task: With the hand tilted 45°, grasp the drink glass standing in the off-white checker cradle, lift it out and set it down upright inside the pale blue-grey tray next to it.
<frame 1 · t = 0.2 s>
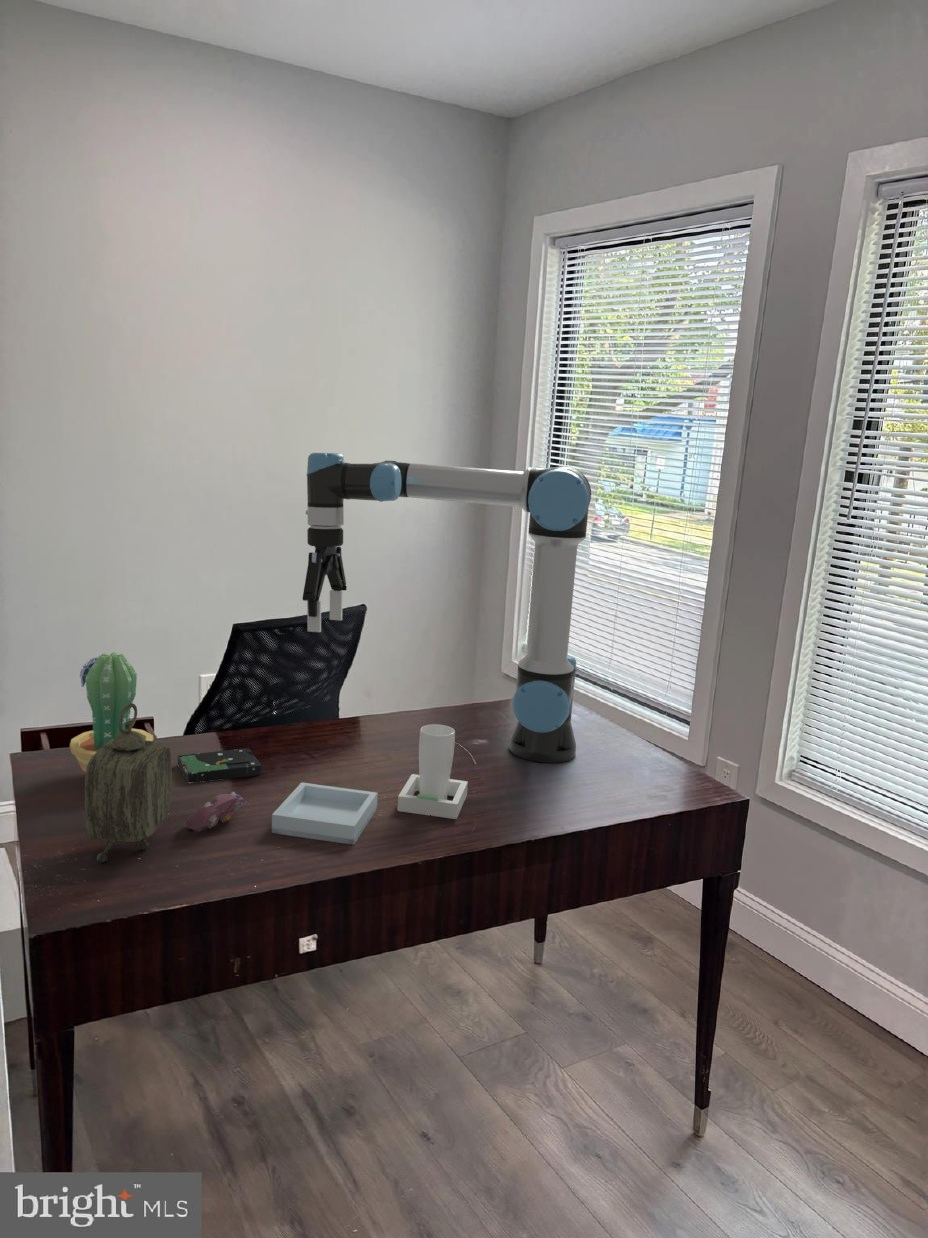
hand: (325, 625, 199), 28 cm above the table, tool pointing down, fingers open, 13 cm apart
checker cradle: (432, 803, 179), on the table
potted cactus: (113, 780, 180), on the table
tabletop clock: (131, 850, 153), on the table
drinking glass: (432, 804, 179), resting in checker cradle
pink toy figurine: (216, 825, 165), on the table
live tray: (326, 821, 168), on the table
disk drive: (219, 773, 188), on the table
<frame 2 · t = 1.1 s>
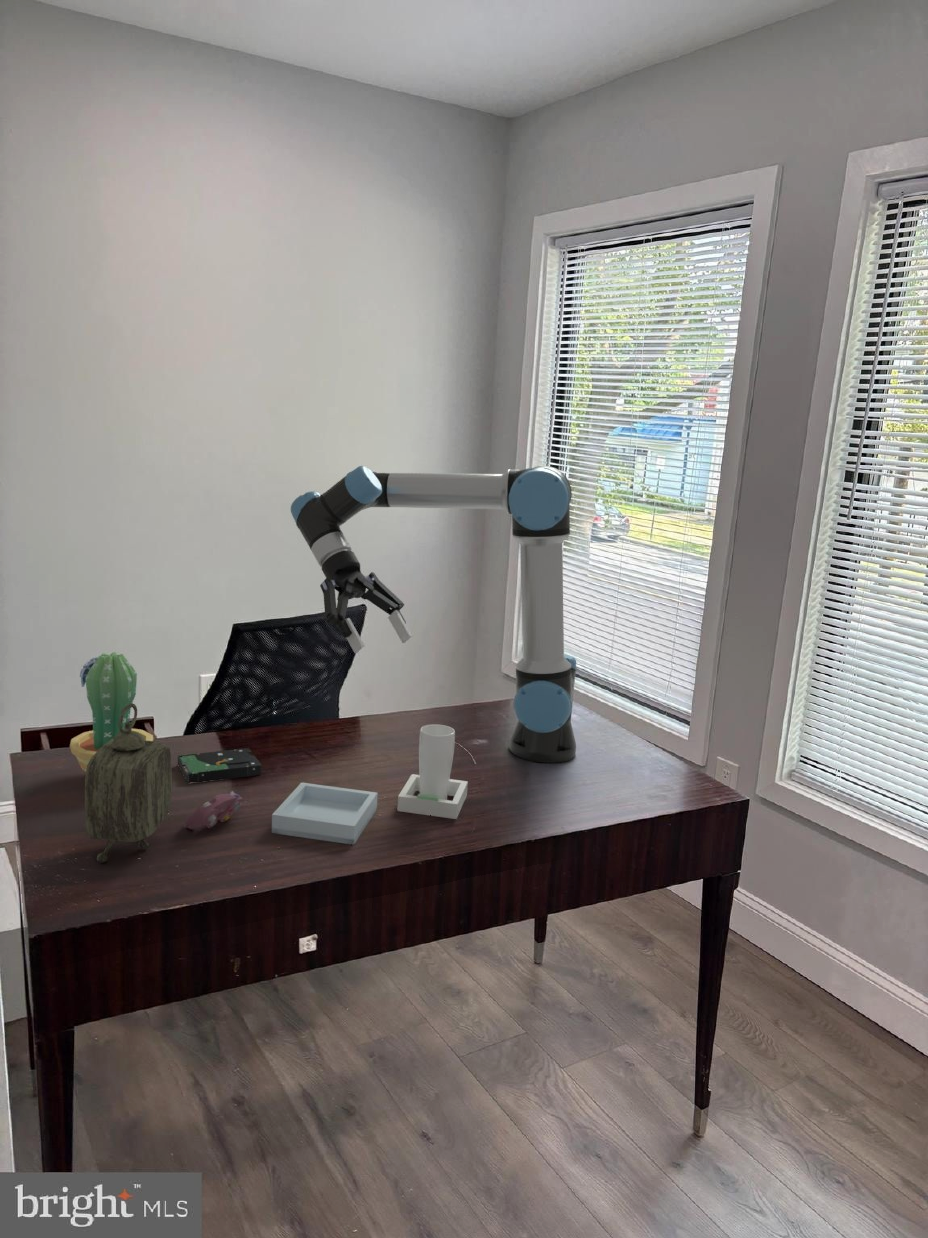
hand: (384, 644, 186), 28 cm above the table, tool tilted 45°, fingers open, 13 cm apart
nothing on the table moved.
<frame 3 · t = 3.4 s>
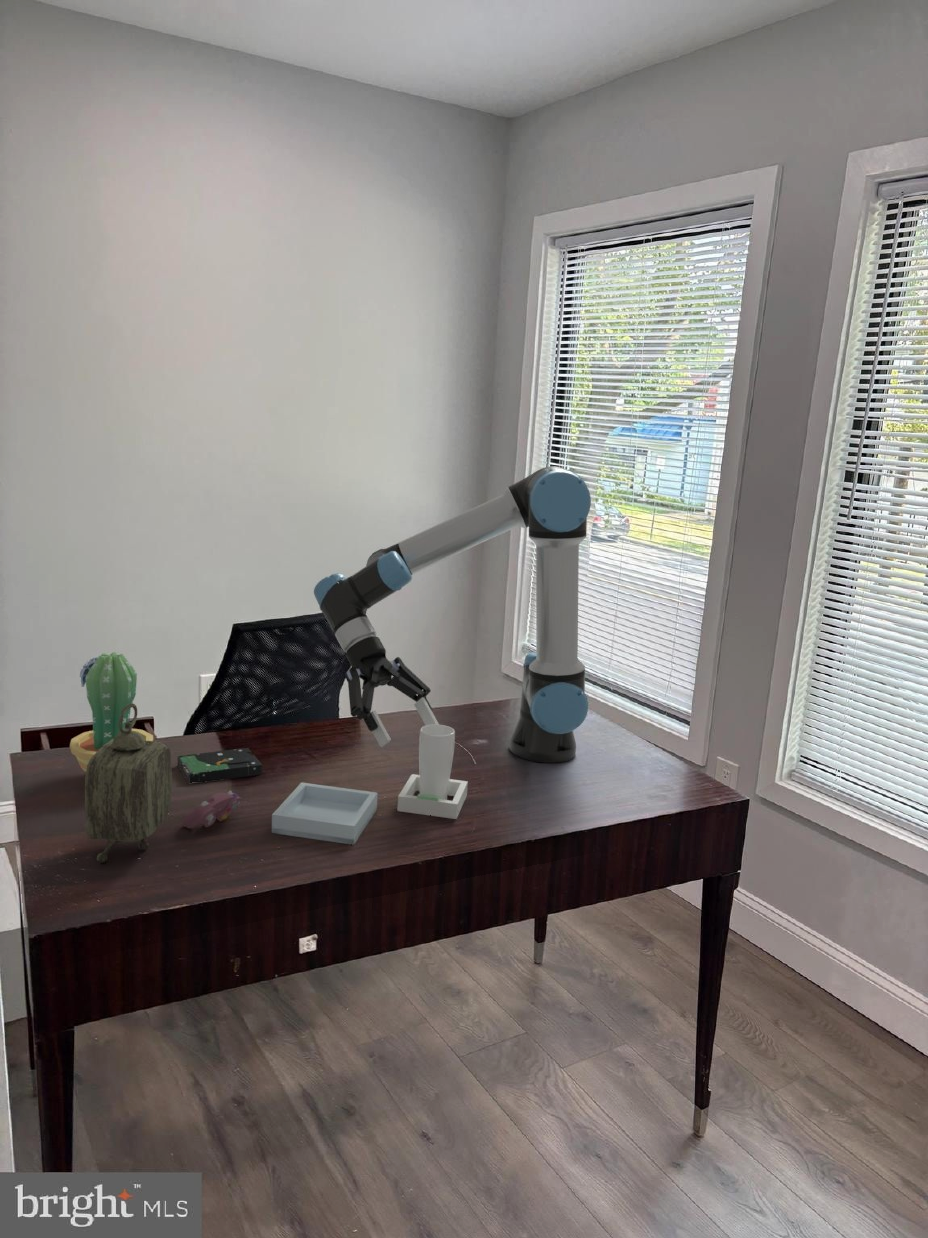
hand: (410, 736, 180), 12 cm above the table, tool tilted 45°, fingers open, 13 cm apart
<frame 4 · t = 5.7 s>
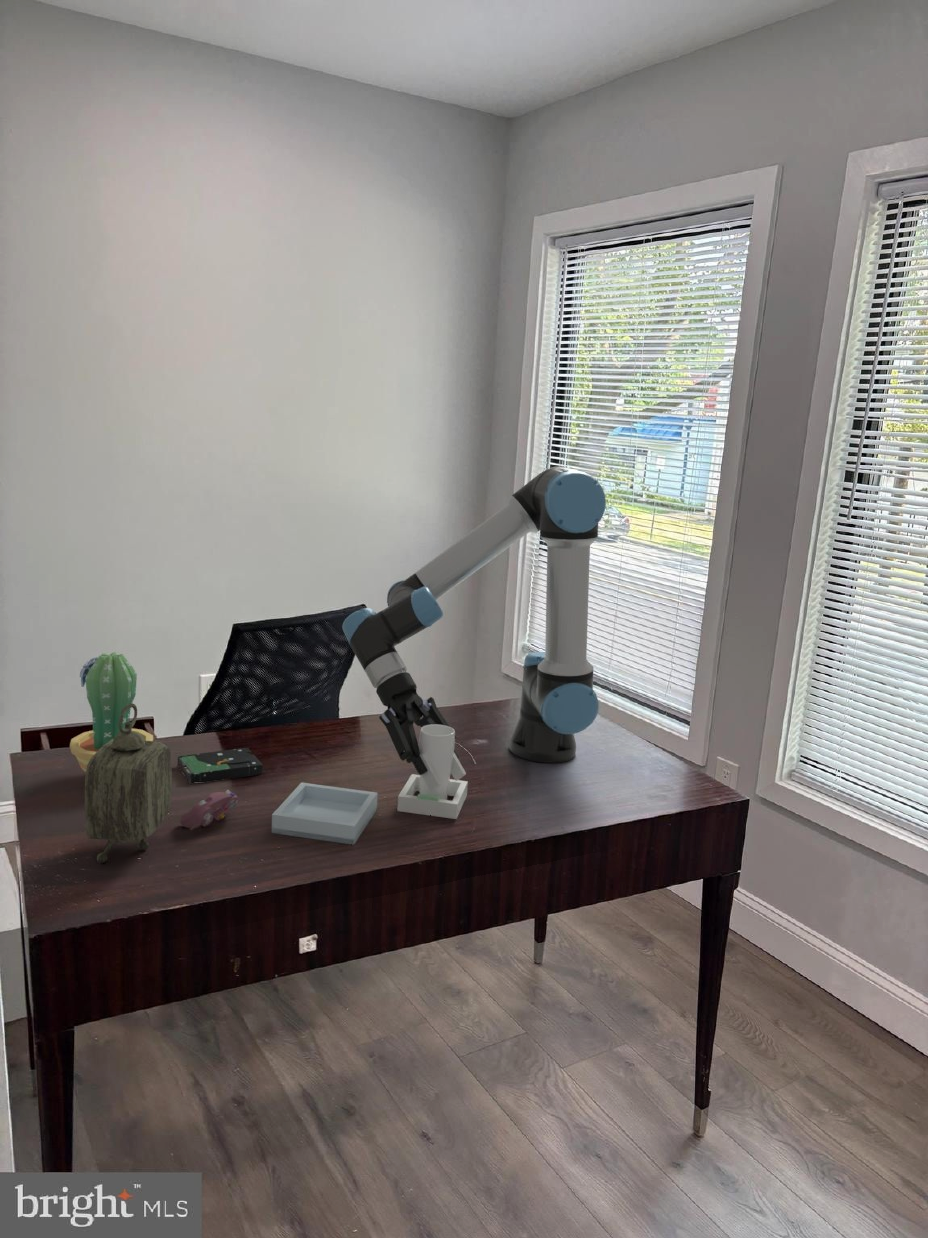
hand: (448, 782, 176), 5 cm above the table, tool tilted 45°, fingers closed on drinking glass, 7 cm apart
drinking glass: (432, 804, 179), resting in checker cradle, touching gripper
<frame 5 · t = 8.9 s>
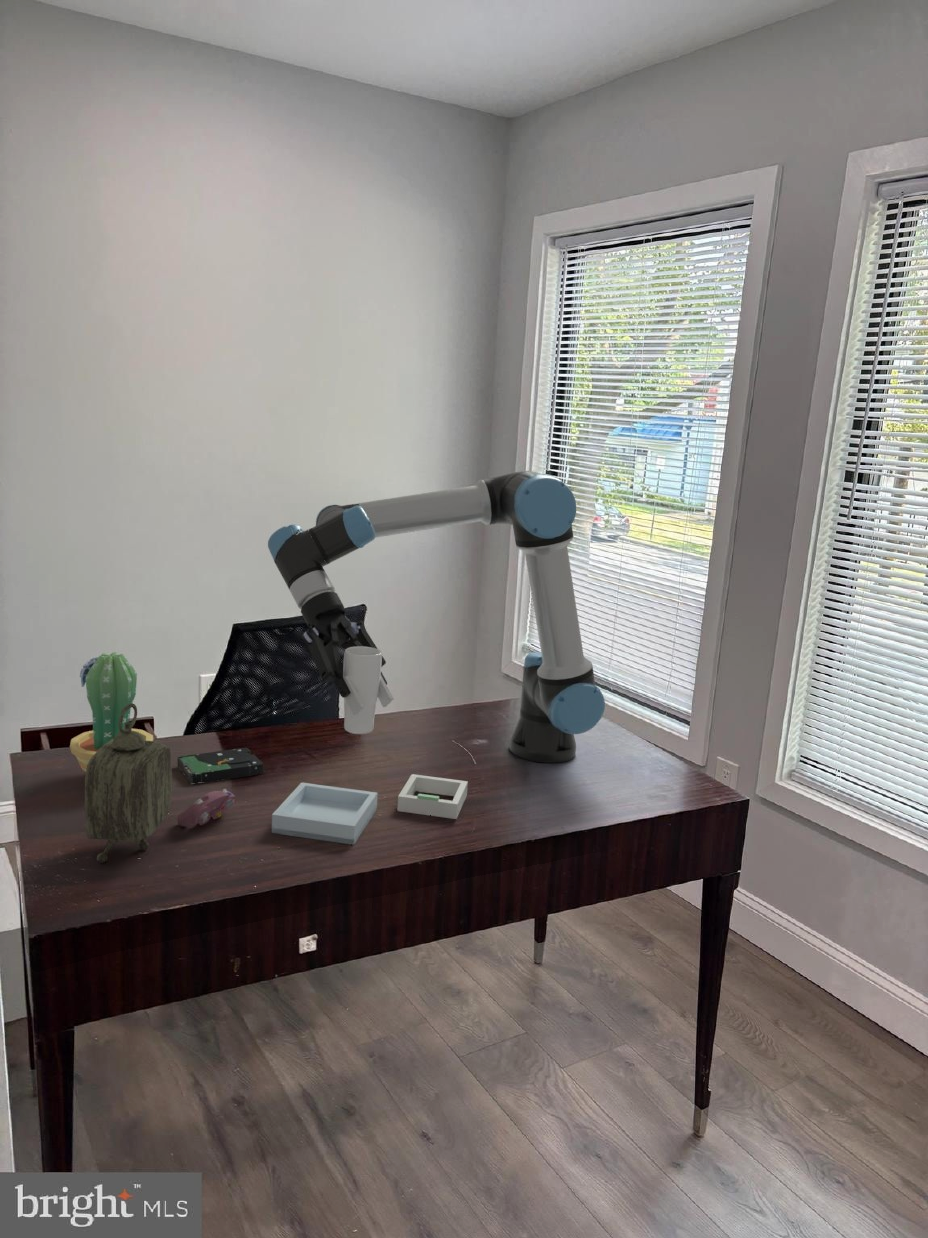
hand: (373, 706, 165), 22 cm above the table, tool tilted 45°, fingers closed on drinking glass, 7 cm apart
drinking glass: (358, 731, 169), point 16 cm above the table, touching gripper
when the fingers open (8 cm above the table, at t = 12.3 s): drinking glass drops 1 cm, resting on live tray.
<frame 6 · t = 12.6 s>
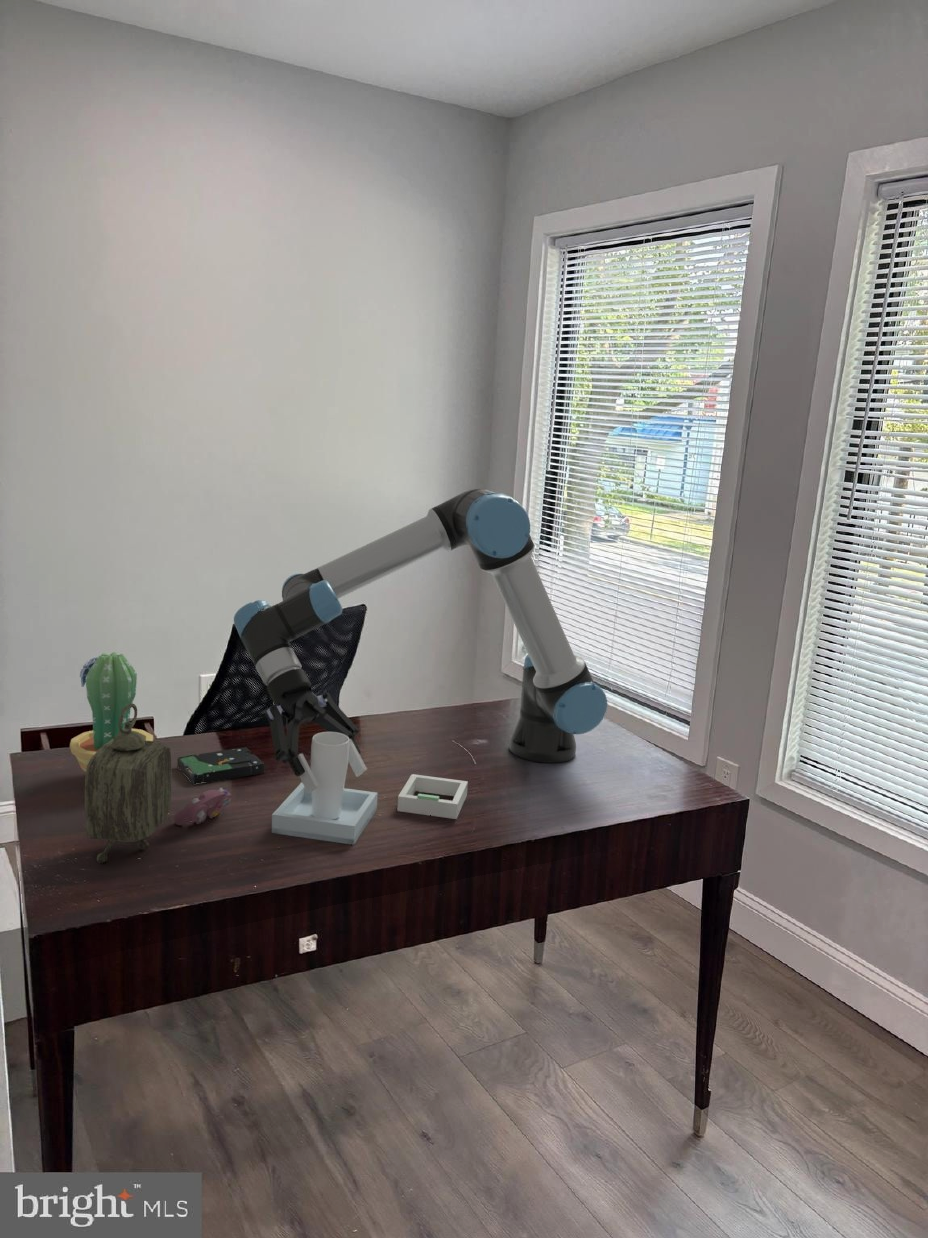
hand: (338, 781, 165), 9 cm above the table, tool tilted 45°, fingers open, 11 cm apart
drinking glass: (326, 816, 168), point 1 cm above the table, touching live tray
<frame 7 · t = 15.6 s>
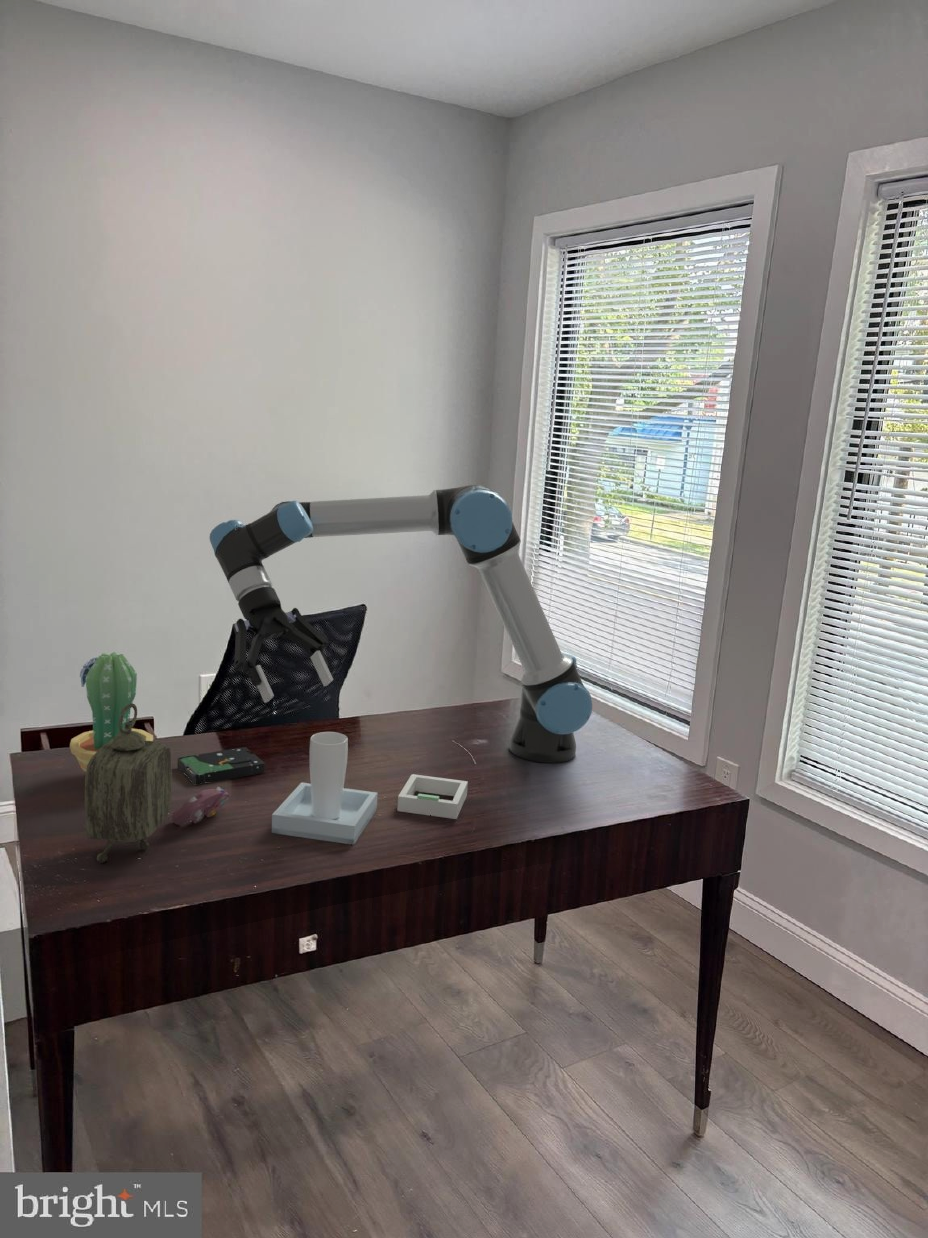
hand: (300, 691, 174), 21 cm above the table, tool tilted 40°, fingers open, 13 cm apart
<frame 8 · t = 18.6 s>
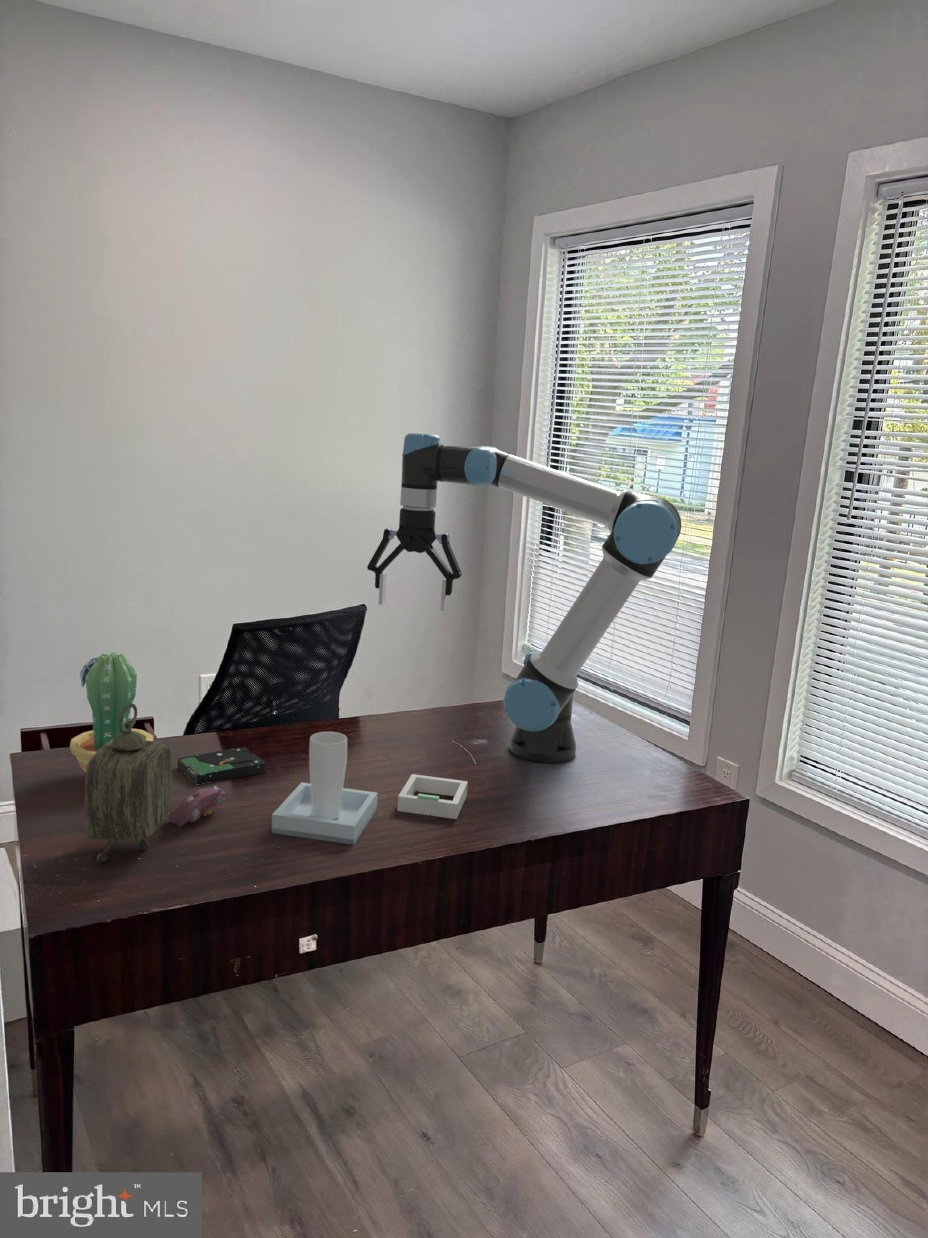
hand: (412, 606, 199), 33 cm above the table, tool pointing down, fingers open, 13 cm apart
at the end: drinking glass inside the target area on the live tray (0.1 cm from its centre), point 0.8 cm above the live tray's base; drinking glass tilted 0°; the gripper is holding nothing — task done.
